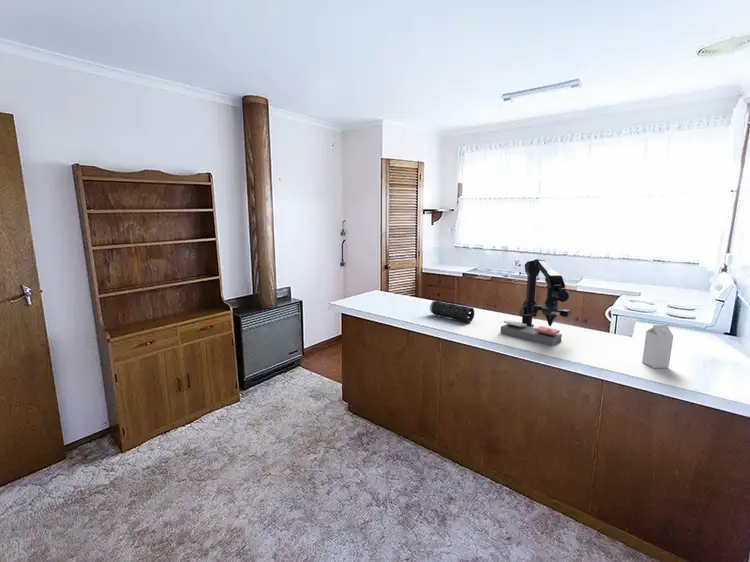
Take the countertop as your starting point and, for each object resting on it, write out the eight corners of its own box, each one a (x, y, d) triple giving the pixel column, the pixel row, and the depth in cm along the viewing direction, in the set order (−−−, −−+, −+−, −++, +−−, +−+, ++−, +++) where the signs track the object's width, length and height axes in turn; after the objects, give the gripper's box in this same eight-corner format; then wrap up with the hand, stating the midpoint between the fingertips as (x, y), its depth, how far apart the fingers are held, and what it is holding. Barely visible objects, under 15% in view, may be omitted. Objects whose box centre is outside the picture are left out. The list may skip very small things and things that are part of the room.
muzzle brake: (466, 325, 236) (467, 308, 234) (428, 316, 255) (429, 301, 253) (474, 322, 243) (475, 306, 241) (437, 313, 261) (437, 298, 260)
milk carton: (641, 362, 179) (647, 322, 176) (656, 362, 180) (661, 322, 177) (653, 368, 172) (659, 327, 169) (668, 368, 173) (675, 327, 170)
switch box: (510, 329, 228) (510, 321, 228) (561, 340, 208) (561, 332, 207) (500, 333, 220) (500, 325, 219) (552, 346, 200) (553, 337, 199)
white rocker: (509, 322, 226) (510, 320, 226) (526, 326, 219) (526, 324, 219) (503, 322, 220) (503, 320, 220) (520, 326, 213) (520, 324, 213)
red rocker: (540, 328, 213) (541, 325, 213) (559, 332, 206) (559, 330, 206) (534, 331, 208) (534, 328, 207) (553, 335, 201) (553, 333, 200)
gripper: (528, 297, 207) (526, 325, 209) (565, 303, 194) (562, 332, 196) (537, 294, 214) (535, 321, 217) (573, 299, 201) (570, 328, 204)
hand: (549, 325), depth 208 cm, fingers closed
